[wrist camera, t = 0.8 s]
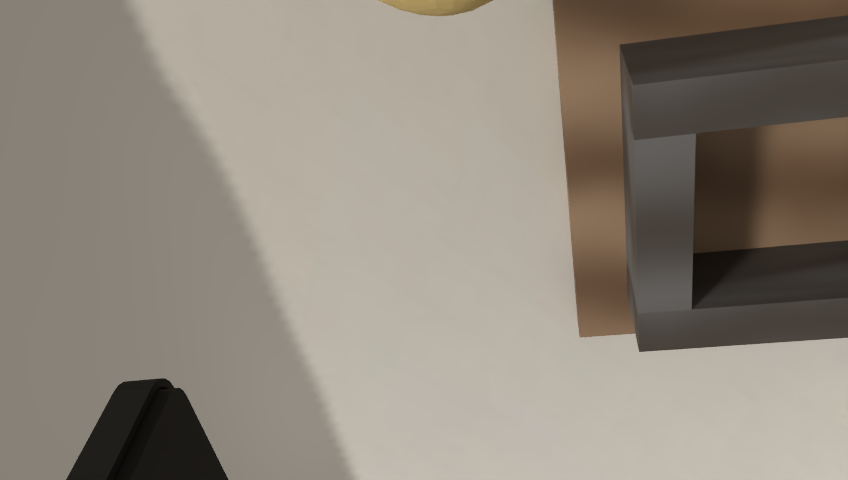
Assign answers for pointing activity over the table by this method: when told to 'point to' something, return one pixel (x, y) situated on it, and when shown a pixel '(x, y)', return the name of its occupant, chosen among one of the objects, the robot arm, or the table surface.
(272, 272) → the table surface
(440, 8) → the light bulb
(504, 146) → the table surface
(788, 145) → the lamp socket
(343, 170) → the table surface
